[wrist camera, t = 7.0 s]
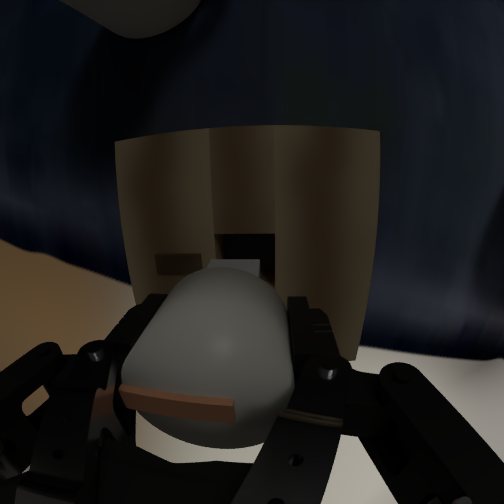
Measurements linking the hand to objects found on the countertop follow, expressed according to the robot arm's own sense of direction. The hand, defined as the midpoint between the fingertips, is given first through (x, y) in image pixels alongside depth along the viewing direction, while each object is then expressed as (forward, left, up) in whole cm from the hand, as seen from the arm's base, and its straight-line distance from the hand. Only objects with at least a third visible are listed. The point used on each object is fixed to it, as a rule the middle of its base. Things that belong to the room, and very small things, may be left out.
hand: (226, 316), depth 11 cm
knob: (0, 0, -3) cm, 3 cm away
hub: (0, 0, -9) cm, 9 cm away
